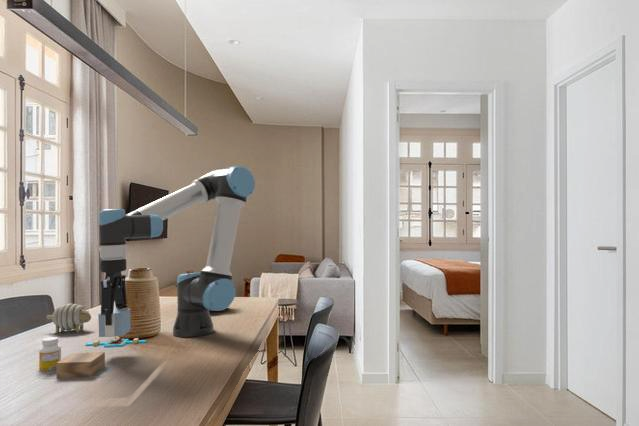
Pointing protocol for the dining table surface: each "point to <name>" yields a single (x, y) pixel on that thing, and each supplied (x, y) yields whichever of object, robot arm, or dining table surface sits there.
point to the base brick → (80, 365)
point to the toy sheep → (70, 317)
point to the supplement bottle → (49, 354)
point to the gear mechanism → (116, 342)
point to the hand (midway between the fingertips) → (115, 332)
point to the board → (100, 373)
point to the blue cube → (116, 322)
